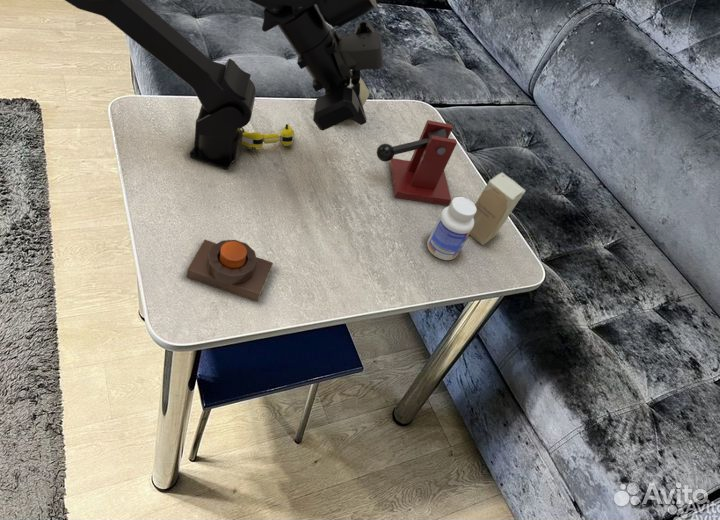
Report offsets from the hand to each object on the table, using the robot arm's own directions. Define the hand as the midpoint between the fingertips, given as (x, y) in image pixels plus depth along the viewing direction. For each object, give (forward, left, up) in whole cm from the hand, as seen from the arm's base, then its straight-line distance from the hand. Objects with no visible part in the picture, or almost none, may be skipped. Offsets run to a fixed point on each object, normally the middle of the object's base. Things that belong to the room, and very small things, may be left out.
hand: (363, 122), depth 92 cm
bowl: (-1, +18, -8) cm, 20 cm away
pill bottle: (+19, -9, -12) cm, 24 cm away
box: (+25, -2, -12) cm, 27 cm away
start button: (-10, -28, -9) cm, 31 cm away
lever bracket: (+13, +5, -12) cm, 18 cm away
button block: (-10, -28, -12) cm, 32 cm away
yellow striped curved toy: (-15, +2, -12) cm, 19 cm away
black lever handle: (+9, +4, -5) cm, 12 cm away
